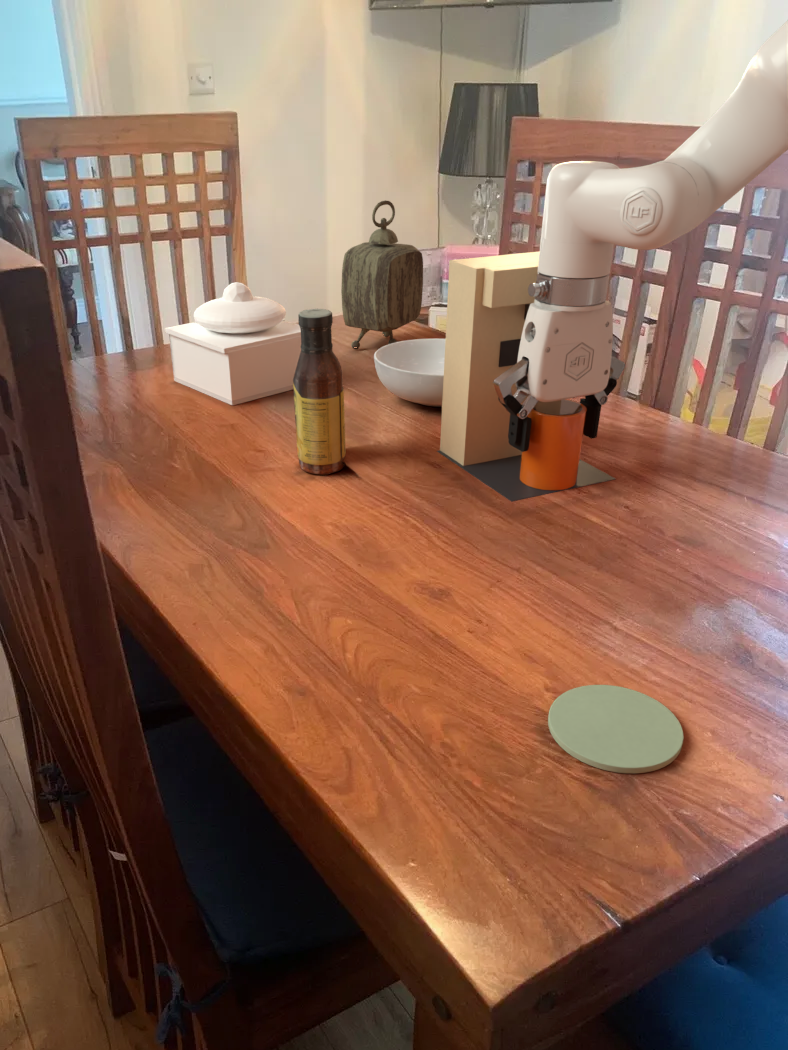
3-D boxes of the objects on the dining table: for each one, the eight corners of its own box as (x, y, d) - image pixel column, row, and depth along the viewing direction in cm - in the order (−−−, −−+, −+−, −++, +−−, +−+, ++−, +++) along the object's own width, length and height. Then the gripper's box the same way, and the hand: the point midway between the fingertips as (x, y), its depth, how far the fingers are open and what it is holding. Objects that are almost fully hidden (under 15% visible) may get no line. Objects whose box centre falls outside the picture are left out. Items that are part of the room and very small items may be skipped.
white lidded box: (319, 382, 144) (316, 282, 135) (229, 406, 134) (220, 300, 126) (257, 360, 155) (252, 267, 147) (170, 381, 145) (159, 282, 137)
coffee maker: (435, 461, 114) (445, 260, 101) (531, 443, 119) (552, 250, 106) (510, 513, 100) (532, 288, 87) (614, 490, 105) (650, 274, 92)
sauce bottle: (316, 455, 116) (312, 302, 106) (355, 465, 113) (354, 308, 103) (286, 471, 111) (279, 313, 101) (325, 481, 108) (322, 320, 98)
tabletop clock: (384, 334, 170) (386, 195, 157) (423, 340, 166) (429, 198, 153) (341, 350, 160) (340, 204, 147) (382, 358, 156) (385, 207, 143)
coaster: (622, 678, 72) (623, 672, 72) (711, 750, 64) (713, 744, 64) (522, 709, 69) (523, 703, 69) (603, 789, 61) (604, 783, 61)
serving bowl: (495, 426, 125) (499, 379, 121) (357, 413, 130) (357, 368, 127) (516, 384, 141) (520, 342, 138) (393, 374, 147) (394, 333, 144)
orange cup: (554, 464, 108) (562, 394, 104) (588, 484, 103) (599, 411, 98) (508, 474, 106) (515, 402, 101) (540, 494, 101) (549, 419, 96)
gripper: (523, 305, 87) (508, 464, 96) (658, 289, 93) (632, 440, 102) (483, 291, 93) (472, 442, 102) (612, 276, 99) (591, 420, 108)
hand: (552, 441), depth 102 cm, fingers open, 9 cm apart
